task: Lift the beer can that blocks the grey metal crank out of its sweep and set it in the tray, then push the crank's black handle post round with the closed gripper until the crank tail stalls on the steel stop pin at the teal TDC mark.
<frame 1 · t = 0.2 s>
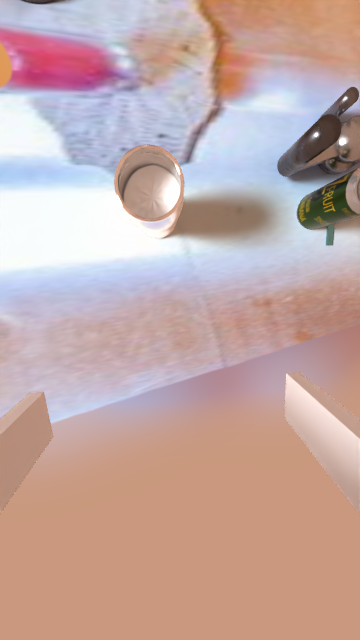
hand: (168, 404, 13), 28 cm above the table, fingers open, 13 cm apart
beer can: (310, 212, 37), on the table
beer glass: (157, 218, 36), on the table
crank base: (336, 152, 35), on the table
crank: (355, 132, 29), point 7 cm above the table, hinge at -75.0°
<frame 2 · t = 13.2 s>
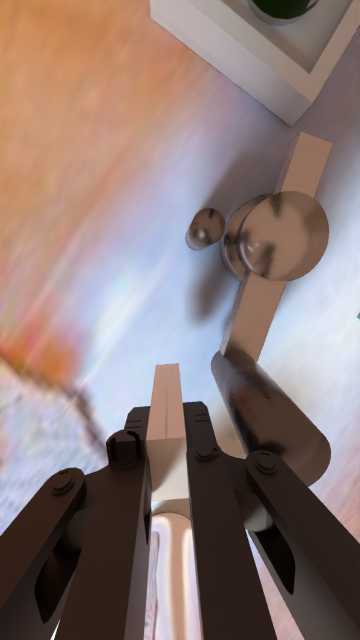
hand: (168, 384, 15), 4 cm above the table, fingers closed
beer glass: (167, 533, 24), on the table
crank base: (259, 244, 18), on the table
crank: (294, 281, 11), point 7 cm above the table, hinge at -74.7°, touching gripper
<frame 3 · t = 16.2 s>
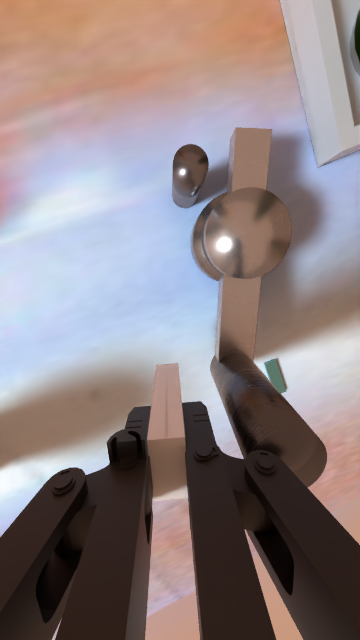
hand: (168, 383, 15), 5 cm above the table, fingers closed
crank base: (230, 242, 17), on the table
crank: (261, 280, 11), point 7 cm above the table, hinge at -22.8°, touching gripper
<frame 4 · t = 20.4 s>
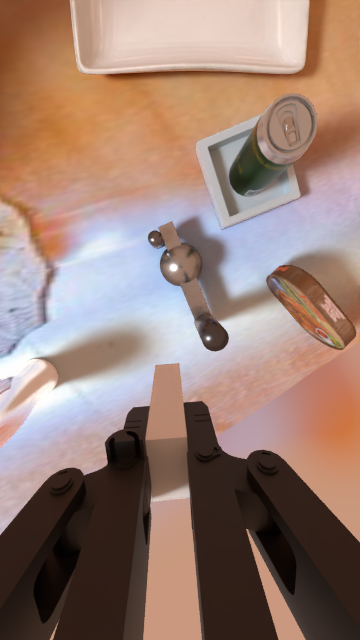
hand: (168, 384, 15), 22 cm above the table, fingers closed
beer can: (246, 177, 32), resting on tray
tin: (293, 303, 37), on the table
beer glass: (40, 375, 38), on the table
tray: (244, 176, 33), on the table
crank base: (180, 265, 35), on the table
crank: (190, 282, 29), point 7 cm above the table, hinge at 1.3°
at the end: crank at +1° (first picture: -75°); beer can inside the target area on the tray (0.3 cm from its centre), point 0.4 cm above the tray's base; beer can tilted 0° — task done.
